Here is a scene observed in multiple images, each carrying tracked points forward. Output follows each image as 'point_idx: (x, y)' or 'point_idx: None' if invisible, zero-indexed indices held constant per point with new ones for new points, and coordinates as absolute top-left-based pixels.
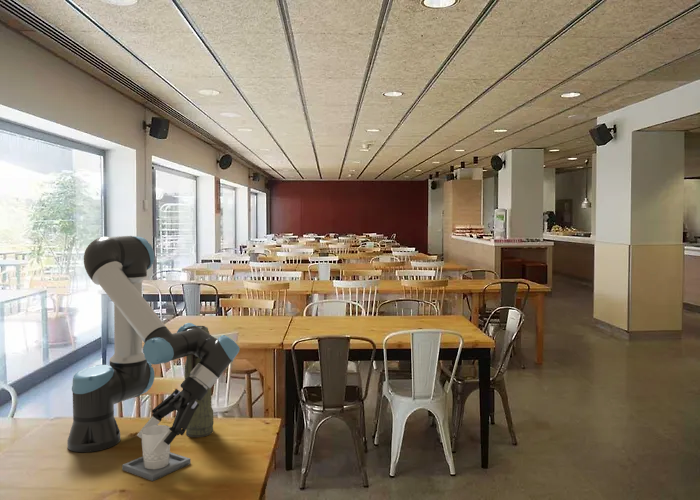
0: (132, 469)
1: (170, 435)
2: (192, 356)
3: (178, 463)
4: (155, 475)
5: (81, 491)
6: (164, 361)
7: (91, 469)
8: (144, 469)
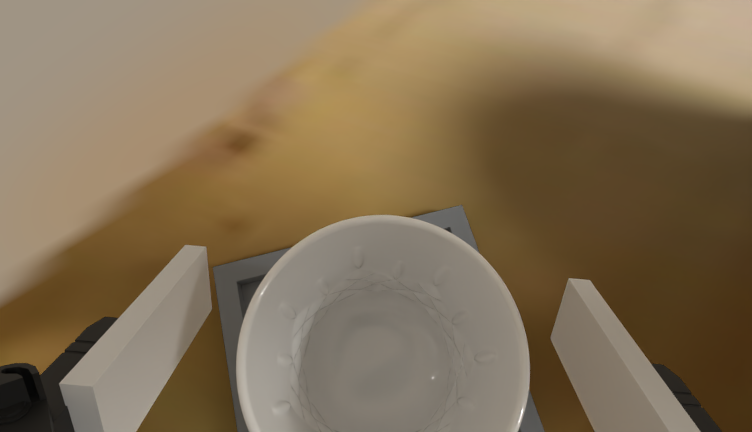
0: None
1: (48, 370)
2: None
3: None
4: (217, 286)
5: (357, 35)
6: None
7: (553, 121)
8: None
